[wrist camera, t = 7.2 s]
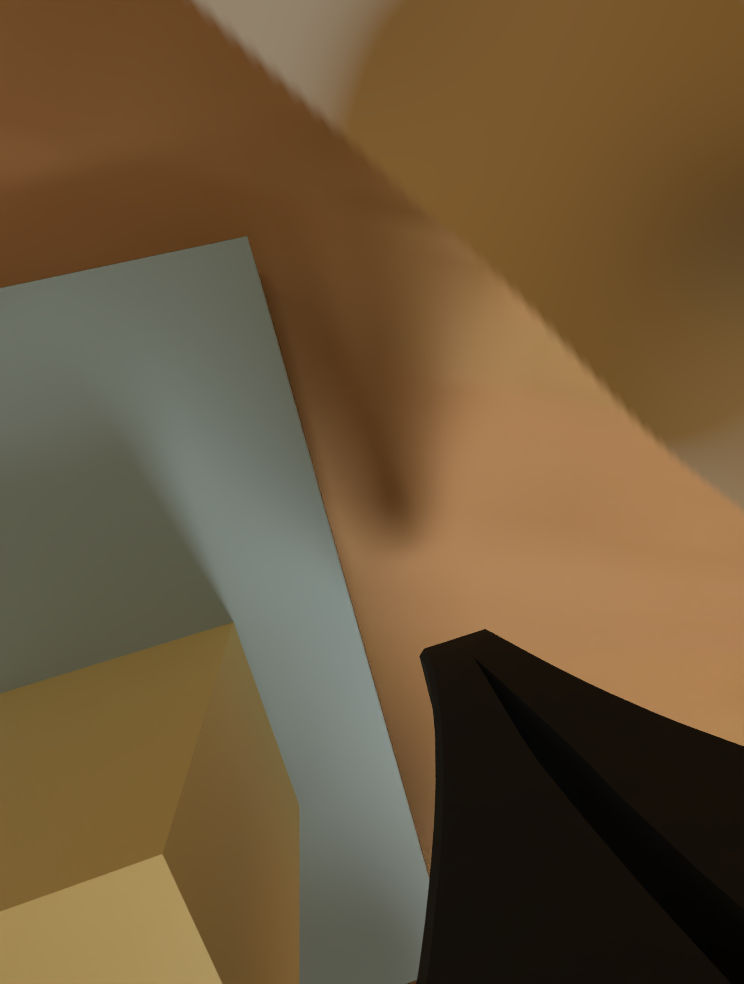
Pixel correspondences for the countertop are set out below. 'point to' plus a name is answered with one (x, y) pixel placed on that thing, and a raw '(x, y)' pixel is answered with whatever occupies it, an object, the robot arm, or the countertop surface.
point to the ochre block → (147, 824)
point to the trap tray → (202, 555)
